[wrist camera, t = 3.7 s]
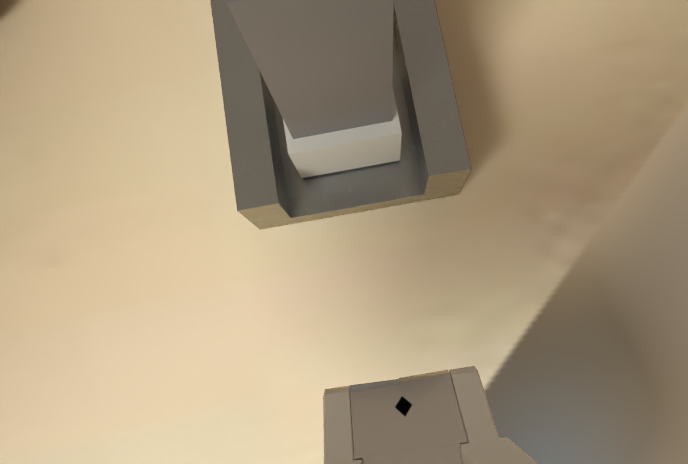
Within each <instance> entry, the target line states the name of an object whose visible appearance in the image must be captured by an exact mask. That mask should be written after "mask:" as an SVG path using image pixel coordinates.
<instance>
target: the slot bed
mask: <svg viewBox="0 0 688 464" xmlns="http://www.w3.org/2000/svg"><path fill="white" fill-rule="evenodd" d="M211 8H212V15H213V23H214V31H215V39H216V47H217V55H218V62H219V70H220V78H221V86H222V94H223V102H224V110H225V117H226V125H227V133H228V141H229V149H230V157H231V164H232V172H233V180H234V188H235V196H236V204H237V211H238V212H239V213H241V214H242V215H243V216H244V217H246V218H247V219H248V220H249V221H250V222H252V223H253V224H254V225H255V226H257V227H258V228H259V229H265V228H271V227H276V226H282V225H288V224H293V223H299V222H304V221H310V220H316V219H321V218H327V217H333V216H338V215H344V214H349V213H355V212H361V211H366V210H372V209H378V208H383V207H389V206H394V205H400V204H406V203H411V202H417V201H423V200H428V199H434V198H440V197H445V196H451V195H456V194H459V192H460V190H461V188H462V186H463V184H464V182H465V180H466V178H467V176H468V174H469V172H470V170H471V166H470V162H469V157H468V152H467V148H466V143H465V139H464V134H463V129H462V125H461V120H460V116H459V111H458V107H457V102H456V97H455V93H454V88H453V84H452V79H451V75H450V70H449V65H448V61H447V56H446V52H445V47H444V43H443V38H442V33H441V29H440V24H439V20H438V15H437V11H436V6H435V1H434V0H394V6H393V79H392V86H393V91H394V96H395V101H396V107H397V112H398V117H399V122H400V127H401V132H402V136H401V152H400V160H399V161H394V162H388V163H383V164H377V165H372V166H366V167H361V168H355V169H350V170H344V171H339V172H333V173H328V174H322V175H317V176H311V177H306V178H301V176H300V174H299V173H298V171H297V169H296V167H295V165H294V164H293V162H292V160H291V158H290V156H289V155H288V149H287V143H286V136H285V129H284V123H283V117H282V115H281V113H280V111H279V109H278V107H277V105H276V103H275V101H274V99H273V97H272V95H271V93H270V91H269V89H268V87H267V85H266V83H265V81H264V79H263V76H262V74H261V72H260V70H259V68H258V66H257V64H256V62H255V60H254V58H253V56H252V54H251V52H250V50H249V48H248V46H247V44H246V42H245V40H244V38H243V36H242V33H241V31H240V29H239V27H238V25H237V23H236V21H235V19H234V17H233V15H232V13H231V11H230V9H229V7H228V5H227V2H226V0H211Z"/></svg>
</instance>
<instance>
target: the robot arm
mask: <svg viewBox="0 0 688 464" xmlns="http://www.w3.org/2000/svg"><path fill="white" fill-rule="evenodd" d="M323 409H324V464H538V463H537V462H535V461H534V460H533V459H532V458H531V457H530V456H529V455H527V454H526V453H525V452H524V451H523V450H521V449H520V448H519V447H518V446H517V445H516V444H514V443H513V442H512V441H511V440H510V439H508V438H499V435H498V432H497V429H496V426H495V423H494V420H493V417H492V414H491V411H490V408H489V405H488V401H487V398H486V395H485V392H484V389H483V386H482V383H481V380H480V376H479V373H478V370H477V369H476V368H475V366H472V367H465V368H459V369H453V370H449V371H448V370H444V371H438V372H432V373H426V374H420V375H414V376H409V377H403V378H399V379H396V380H388V381H381V382H373V383H365V384H358V385H350V386H344V387H337V388H330V389H325V392H324V396H323Z"/></svg>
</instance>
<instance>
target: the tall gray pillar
mask: <svg viewBox="0 0 688 464" xmlns="http://www.w3.org/2000/svg"><path fill="white" fill-rule="evenodd" d="M226 2H227V5H228V7H229V9H230V11H231V13H232V15H233V17H234V19H235V21H236V23H237V25H238V27H239V29H240V31H241V33H242V36H243V38H244V40H245V42H246V44H247V46H248V48H249V50H250V52H251V54H252V56H253V58H254V60H255V62H256V64H257V66H258V68H259V70H260V72H261V74H262V76H263V79H264V81H265V83H266V85H267V87H268V89H269V91H270V93H271V95H272V97H273V99H274V101H275V103H276V105H277V107H278V109H279V111H280V113H281V115H282V117H283V123H284V129H285V136H286V143H287V149H288V155H289V156H290V158H291V160H292V162H293V164H294V165H295V167H296V169H297V171H298V173H299V174H300V176H301V178H306V177H311V176H317V175H322V174H328V173H333V172H339V171H344V170H350V169H355V168H361V167H366V166H372V165H377V164H383V163H388V162H394V161H399V160H400V152H401V136H402V132H401V127H400V122H399V117H398V112H397V107H396V101H395V96H394V91H393V86H392V79H393V6H394V0H226Z"/></svg>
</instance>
